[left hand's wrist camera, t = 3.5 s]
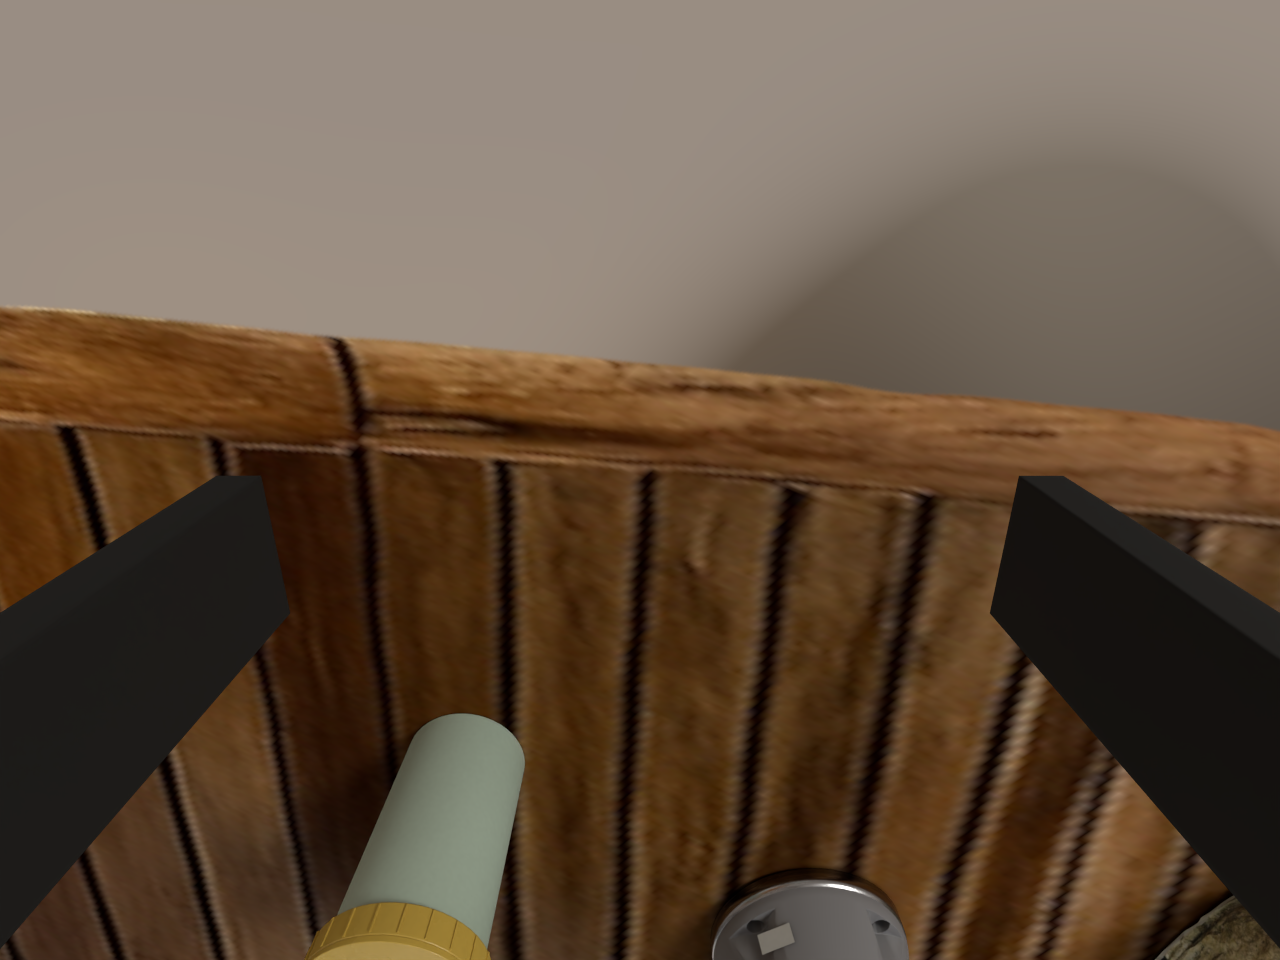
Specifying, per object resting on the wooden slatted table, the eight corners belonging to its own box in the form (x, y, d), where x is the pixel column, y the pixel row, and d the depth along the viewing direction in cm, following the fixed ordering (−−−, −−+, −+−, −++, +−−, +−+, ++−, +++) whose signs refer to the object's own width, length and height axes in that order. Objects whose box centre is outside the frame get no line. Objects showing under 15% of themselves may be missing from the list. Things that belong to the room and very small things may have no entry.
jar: (526, 805, 51) (479, 1051, 36) (413, 802, 51) (320, 1048, 36) (523, 715, 48) (471, 943, 33) (404, 711, 48) (297, 938, 33)
